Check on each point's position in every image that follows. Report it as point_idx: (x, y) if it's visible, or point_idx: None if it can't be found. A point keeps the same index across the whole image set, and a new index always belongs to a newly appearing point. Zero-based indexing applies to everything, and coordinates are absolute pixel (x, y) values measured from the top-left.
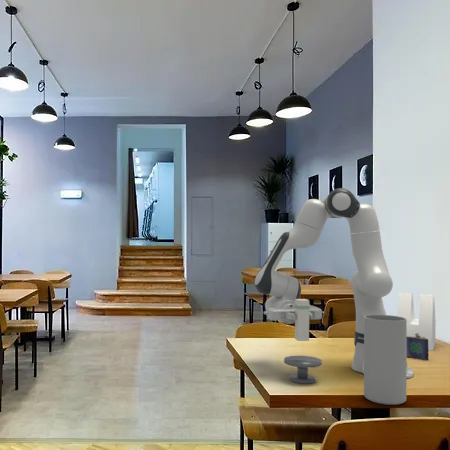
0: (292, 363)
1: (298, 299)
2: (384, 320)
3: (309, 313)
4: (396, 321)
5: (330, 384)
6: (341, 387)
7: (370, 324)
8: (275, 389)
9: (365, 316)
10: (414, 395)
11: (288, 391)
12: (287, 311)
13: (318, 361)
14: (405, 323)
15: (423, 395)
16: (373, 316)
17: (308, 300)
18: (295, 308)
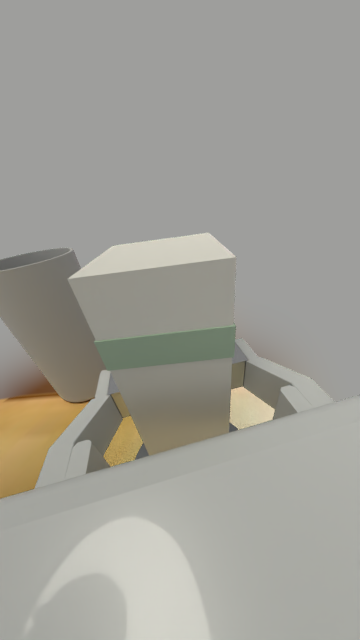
0: (232, 425)
1: (194, 249)
2: (62, 248)
3: (100, 399)
4: (46, 250)
5: (136, 455)
6: (123, 431)
7: (77, 261)
8: (265, 408)
9: (50, 259)
10: (32, 395)
11: (237, 398)
12: (322, 405)
13: (146, 454)
14: (21, 261)
15: (19, 396)
16: (5, 274)
17: (119, 245)
18: (229, 353)
